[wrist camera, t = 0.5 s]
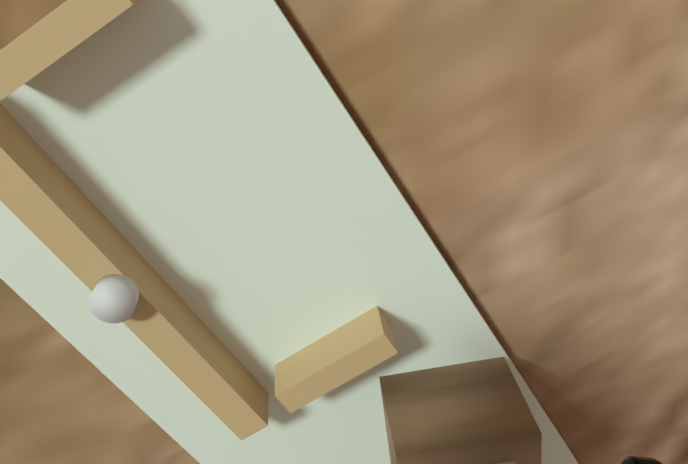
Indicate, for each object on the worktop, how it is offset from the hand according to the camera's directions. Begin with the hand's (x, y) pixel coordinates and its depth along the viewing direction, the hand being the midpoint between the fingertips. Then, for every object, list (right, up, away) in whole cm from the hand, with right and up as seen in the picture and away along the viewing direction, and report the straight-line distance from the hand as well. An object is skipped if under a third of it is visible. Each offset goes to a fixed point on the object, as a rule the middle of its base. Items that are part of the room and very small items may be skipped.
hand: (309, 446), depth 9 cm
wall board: (-1, -2, +17) cm, 17 cm away
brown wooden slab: (+5, -7, +19) cm, 21 cm away
